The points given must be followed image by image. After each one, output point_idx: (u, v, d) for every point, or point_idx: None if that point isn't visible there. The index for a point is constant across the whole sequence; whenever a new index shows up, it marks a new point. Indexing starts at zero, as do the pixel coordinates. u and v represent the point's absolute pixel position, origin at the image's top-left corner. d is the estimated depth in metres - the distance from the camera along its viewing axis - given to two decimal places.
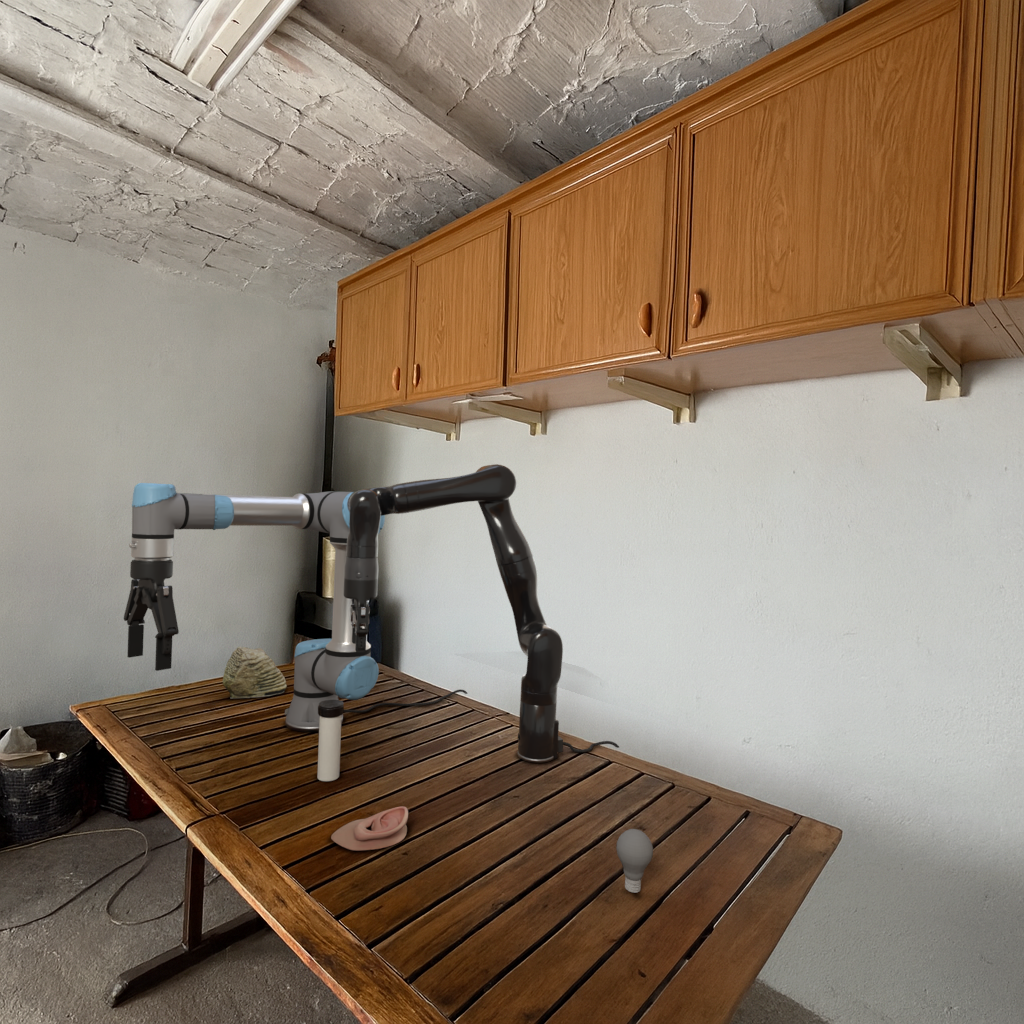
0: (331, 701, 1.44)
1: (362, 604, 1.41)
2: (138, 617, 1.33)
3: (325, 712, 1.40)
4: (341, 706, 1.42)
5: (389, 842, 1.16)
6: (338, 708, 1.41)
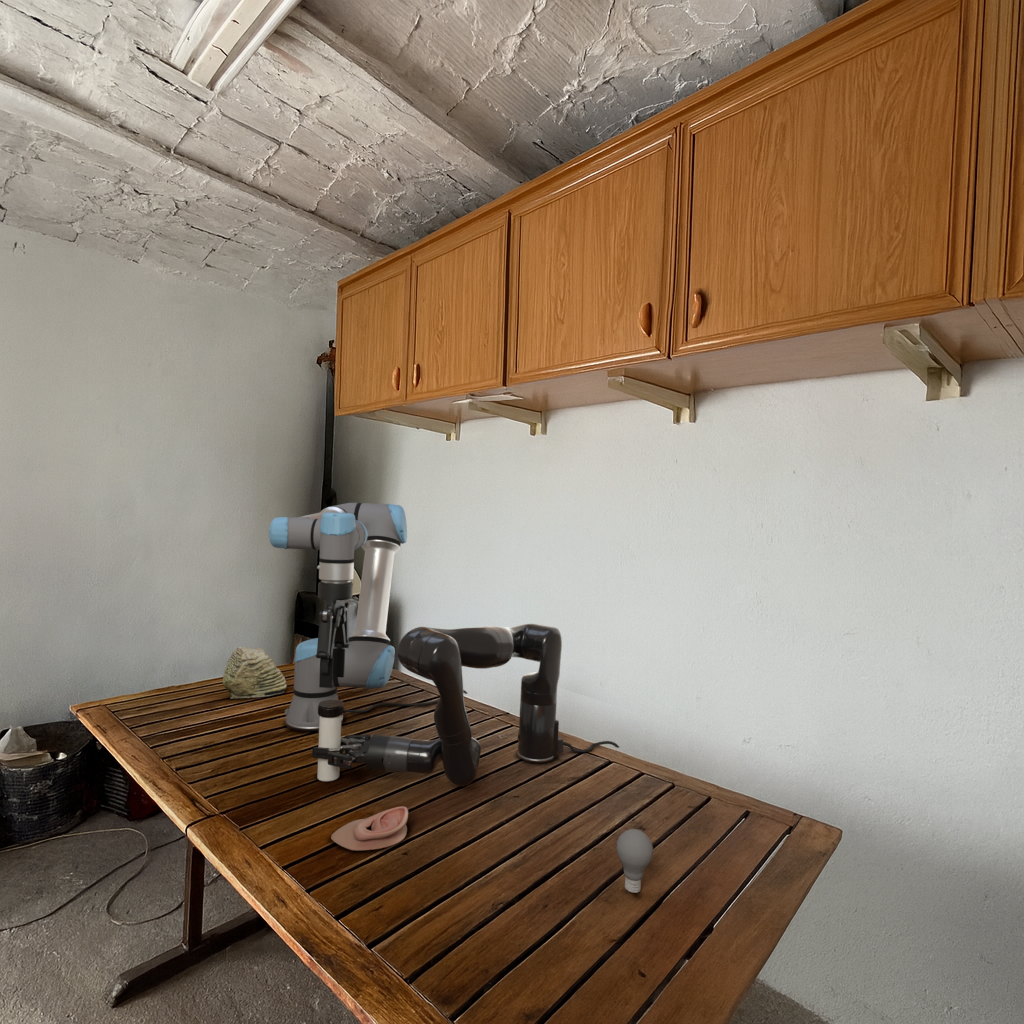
0: (331, 701, 1.44)
1: None
2: (339, 639, 1.47)
3: (325, 712, 1.40)
4: (341, 706, 1.42)
5: (389, 842, 1.16)
6: (338, 708, 1.41)
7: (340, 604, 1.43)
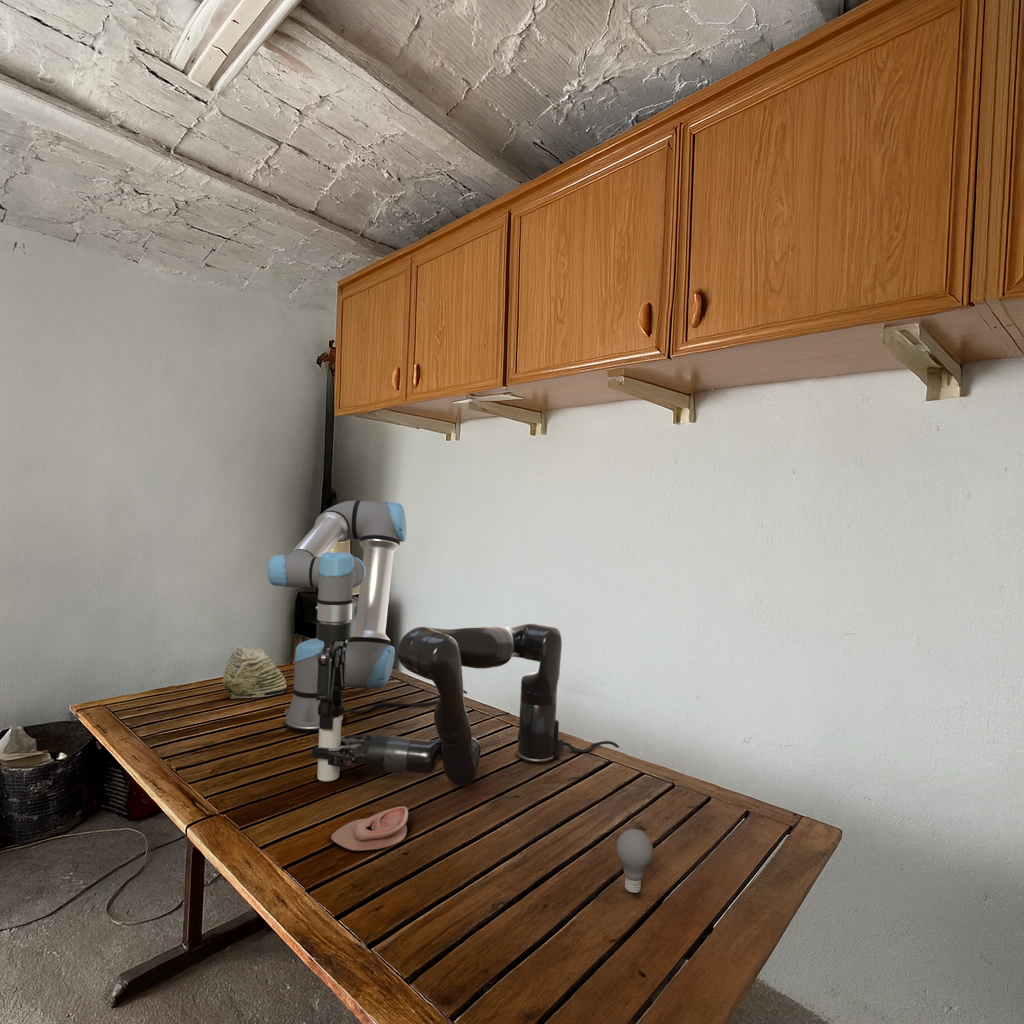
0: None
1: None
2: (336, 680, 1.46)
3: None
4: (341, 706, 1.42)
5: (389, 842, 1.16)
6: (338, 708, 1.41)
7: (338, 644, 1.43)
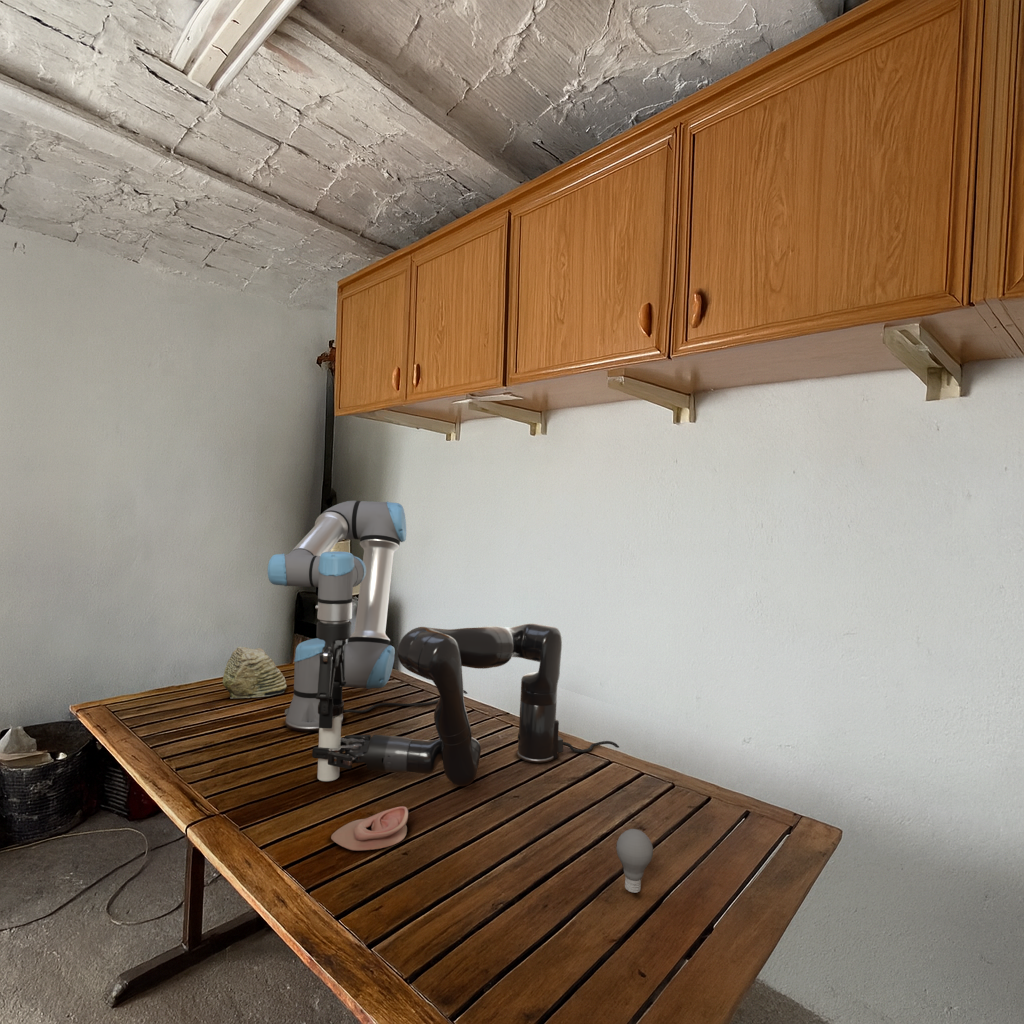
0: None
1: None
2: (336, 677, 1.47)
3: (339, 710, 1.41)
4: None
5: (389, 842, 1.16)
6: (343, 703, 1.44)
7: (338, 643, 1.43)
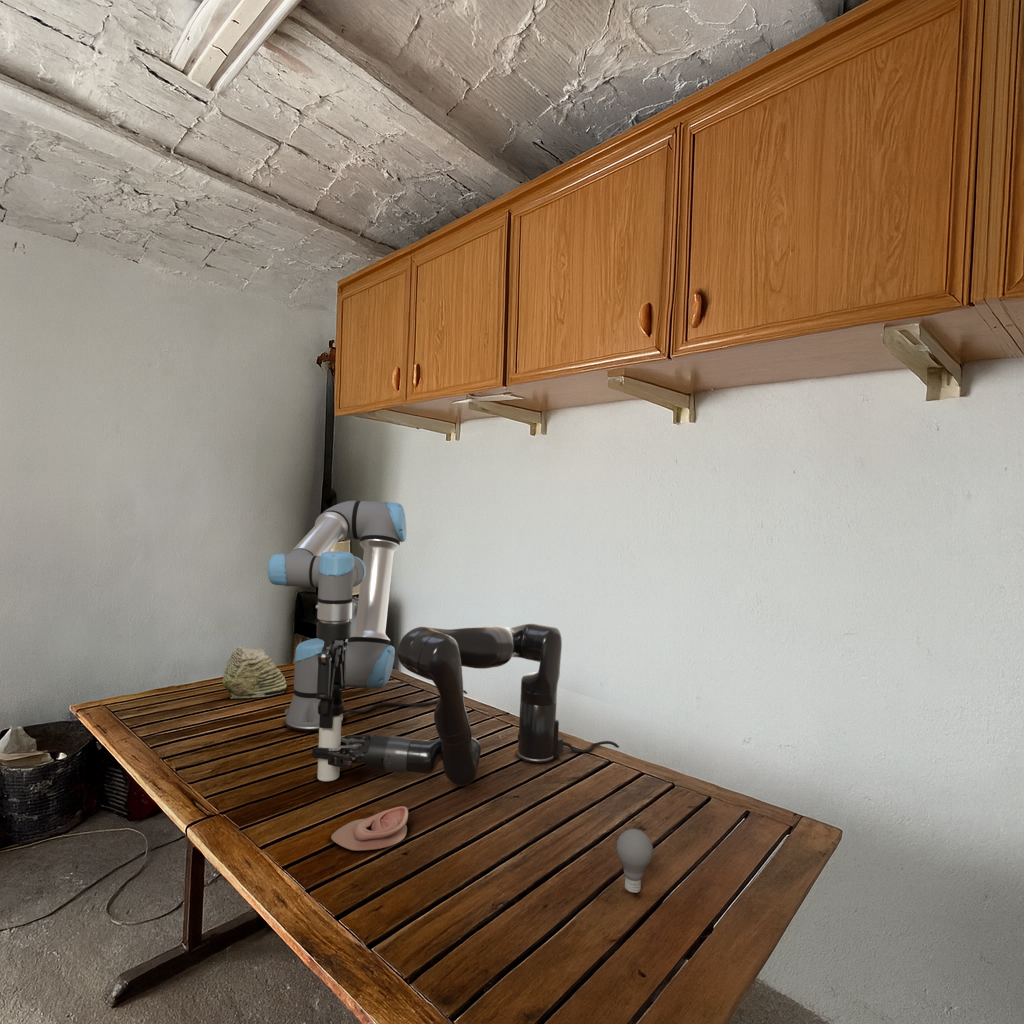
0: None
1: None
2: (336, 679, 1.46)
3: (339, 710, 1.41)
4: None
5: (389, 842, 1.16)
6: (343, 703, 1.44)
7: (338, 643, 1.43)
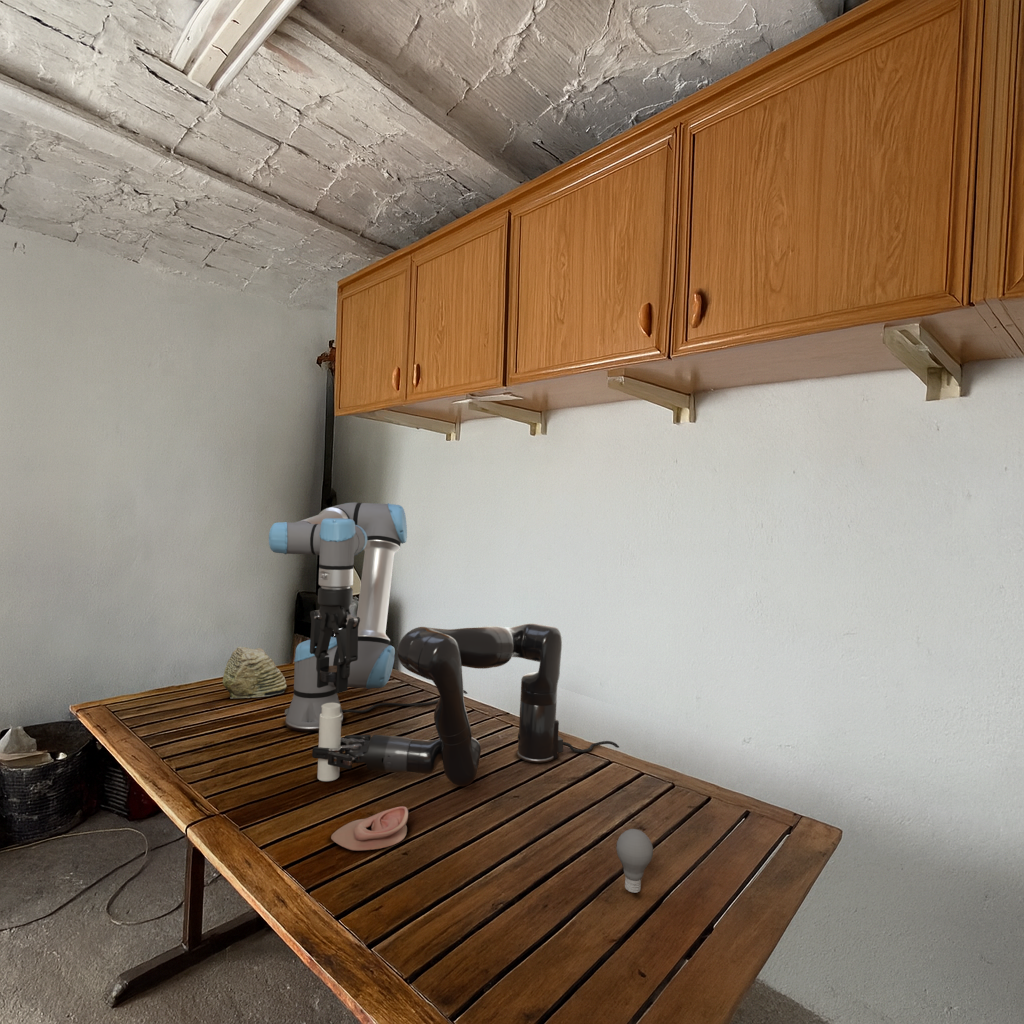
0: (327, 669, 1.42)
1: None
2: (324, 647, 1.45)
3: None
4: None
5: (389, 842, 1.16)
6: None
7: None
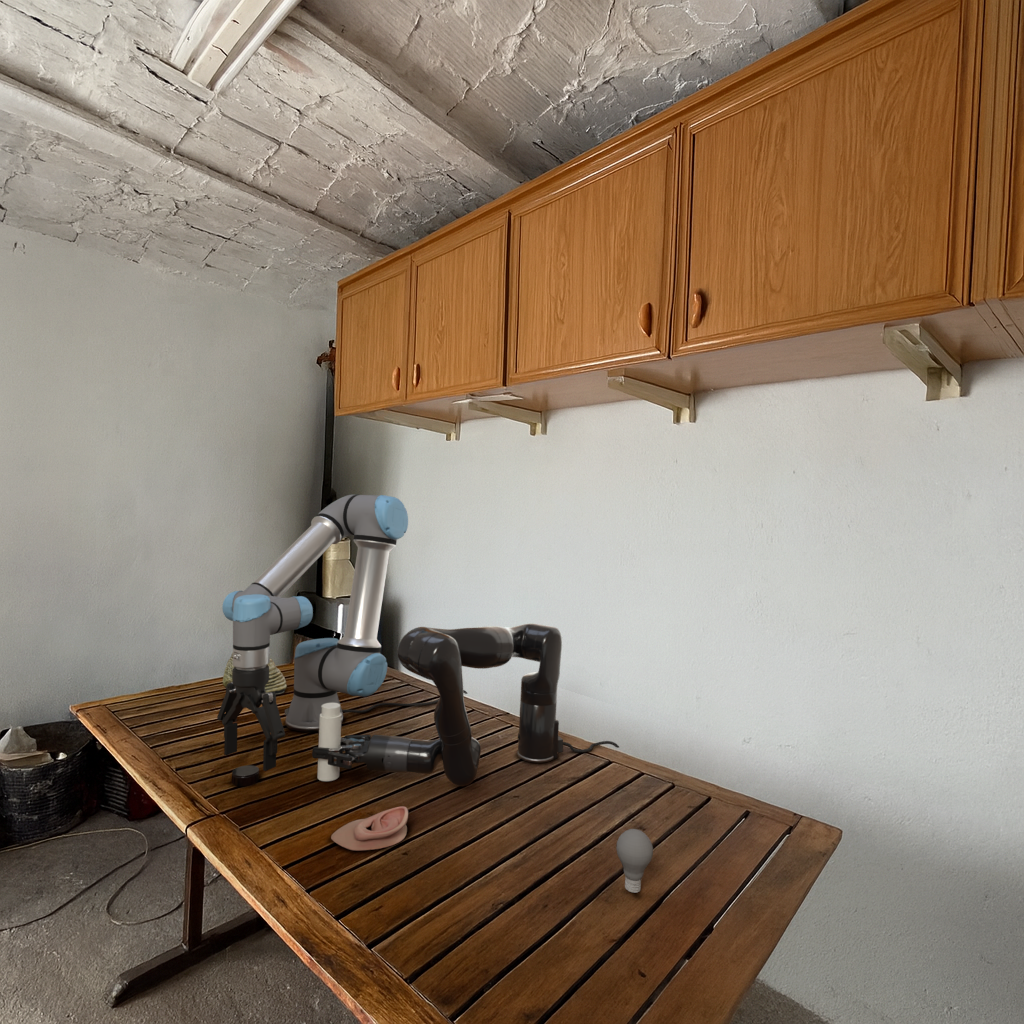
0: (239, 772, 1.39)
1: None
2: (233, 717, 1.43)
3: None
4: None
5: (389, 842, 1.16)
6: None
7: None
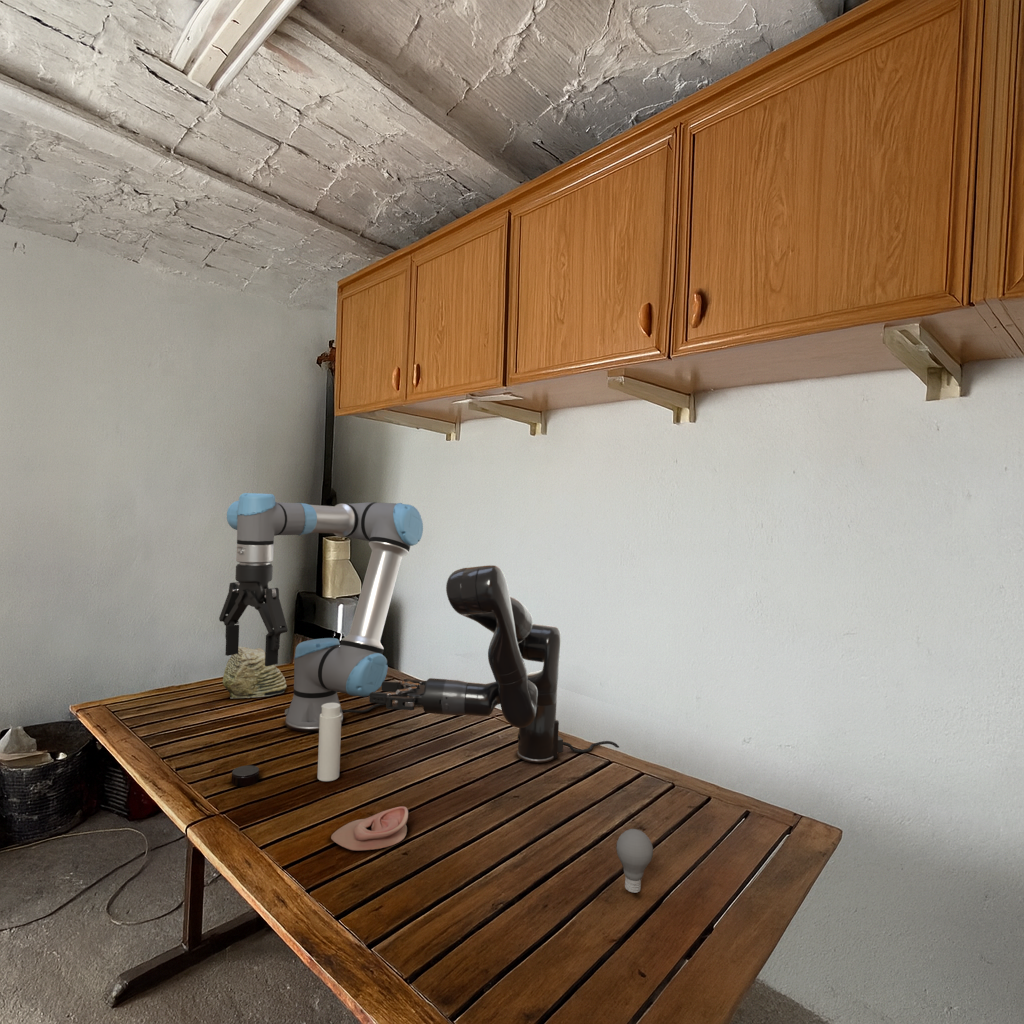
0: (239, 772, 1.39)
1: None
2: (235, 618, 1.42)
3: None
4: None
5: (389, 842, 1.16)
6: None
7: None
